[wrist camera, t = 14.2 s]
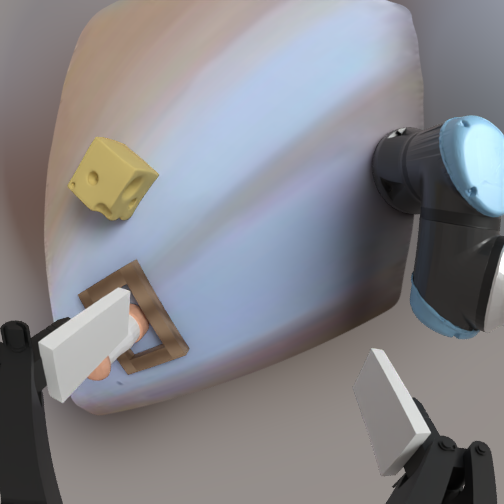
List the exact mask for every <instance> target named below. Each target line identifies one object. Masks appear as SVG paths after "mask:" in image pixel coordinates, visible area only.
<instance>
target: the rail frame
mask: <svg viewBox="0 0 504 504" xmlns="http://www.w3.org/2000/svg"><path fill="white" fill-rule="evenodd" d="M126 284H127V285H128V287H129V288H130V290H131V292H132V294H133V295H134V297H135V299H136V301H137V302H138V304H139V306H140V307H141V309H142V311H143V312H144V314H145V316H146V317H147V319H148V321H149V322H150V324H151V326H152V327H153V329H154V330H155V332H156V333H157V335H158V337H159V338H160V340H161V341H162V343H163V344H161V345H158V346H156V347H153V348H151V349H148V350H145V351H143V352H140V353H137V354H135V355H134V353H133V352H132V350H131V349H128V350H127V351H126V352H124V353H123V354H121V355H120V356H119V357H118V358H117V360H118V361H119V363H120V364H121V366H122V367H123V369H124V370H125V371H126V373H127V374H128V375H129V374H132V373H135V372H138V371H141V370H144V369H147V368H151V367H153V366H156V365H159V364H162V363H165V362H168V361H171V360H174V359H177V358H179V357H182V356H185V355H186V354H187V352H188V351H189V347H188V346H187V344H186V343H185V341H184V339H183V338H182V336H181V335H180V333H179V332H178V330H177V328H176V327H175V325H174V324H173V322H172V320H171V319H170V317H169V315H168V314H167V312H166V310H165V309H164V307H163V305H162V304H161V302H160V300H159V299H158V297H157V295H156V293H155V292H154V290H153V288H152V286H151V285H150V283H149V281H148V279H147V277H146V276H145V274H144V272H143V270H142V268H141V266H140V264H139V263H138V261H137V259H136V260H135V261H133V262H131V263H129V264H127V265H126V266H124V267H122V268H121V269H119V270H117V271H116V272H114V273H112V274H111V275H109V276H107V277H106V278H104V279H102V280H101V281H99V282H98V283H96V284H94V285H93V286H91V287H90V288H88V289H86V290H85V291H83V292H82V293H80V294H78V296H79V298H80V300H81V302H82V304H83V305H84V307H85V309H87V308H88V307H89V306H91V305H92V304H94V303H95V302H97V301H98V300H100V299H101V298H102V297H104V296H106V295H108V294H109V293H111V292H112V291H114V290H115V289H117V288H118V287H119V288H120V287H122V286H124V285H126Z"/></svg>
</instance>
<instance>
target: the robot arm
mask: <svg viewBox="0 0 504 504" xmlns="http://www.w3.org/2000/svg"><path fill="white" fill-rule="evenodd" d="M372 167H373V176H374V180H375V184H376V186H377V188H378V190H379V192H380V194H381V195H382V197H383V198H384V199H385V201H386V202H387V203H388V204H390V205H391V206H392V207H393V208H395V209H397V210H399V211H401V212H405V213H410V214H420V221H419V232H418V242H417V250H416V258H415V265H414V271H413V273H412V276H411V282H412V287H411V294H410V305H411V307H412V310H413V312H414V314H415V315H416V317H417V318H418V319H419V320H420V321H421V322H422V323H423V324H424V325H426V326H427V327H428V328H430V329H432V330H433V331H435V332H437V333H439V334H442V335H444V336H447V337H453V336H455V337H456V338H458V339H469V338H472V337H474V336H476V335H477V334H478V332H479V331H480V330H481V331H484V332H486V333H490V332H491V331H493V330H495V329H496V328H498V327H500V326H504V236H500V222H501V216H502V215H503V214H504V135H503V134H502V133H501V131H500V130H499V129H498V128H497V127H496V126H495V125H493V124H492V123H491V122H489V121H488V120H486V119H484V118H481V117H478V116H464V117H459V118H456V117H455V118H451V119H449V120H447V121H446V122H444V123H441V124H438V125H436V126H433V127H431V128H428V129H426V130H421V129H417V128H412V127H406V128H400V129H397V130H395V131H393V132H391V133H389V134H387V135H386V136H385V137H384V138H383V139H382V140H381V141H380V142H379V144H378V146H377V148H376V150H375V153H374V157H373V166H372ZM130 292H131V291H128V290H125V289H122V288H119V287H118V288H117V289H115V290H114V291H112V292H111V293H109V294H108V295H106V296H105V297H103V298H101V299H100V300H98V301H97V302H95V303H94V304H92V305H91V306H89V307H88V308H87V309H85V310H84V311H82V312H81V313H79V314H78V315H76V316H75V317H73V318H72V319H71V318H69V317H66V318H63V319H59V320H57V321H56V322H54V323H53V324H51V325H50V326H48V327H47V328H46V329H44V330H42V331H41V332H39V333H38V334H36V335H35V336H33V337H32V338H31V337H30V331H29V326H28V325H27V324H26V323H24V322H22V321H9V322H6V323H5V324H3V325H2V327H1V328H0V329H1V335H2V340H3V343H2V342H0V494H1V504H63V503H62V499H61V496H60V492H59V488H58V484H57V481H56V476H55V473H54V468H53V463H52V458H51V453H50V448H49V442H48V435H47V428H46V420H45V412H44V399H43V393H42V389H43V388H44V387H45V386H47V388H48V392H49V395H50V396H51V397H53V398H55V399H56V400H58V401H60V402H62V403H64V402H65V400H66V399H67V398H68V397H69V396H70V395H71V394H72V393H73V392H74V391H75V390H76V389H77V388H78V387H79V385H80V384H81V383H82V382H83V381H84V380H85V379H86V378H87V377H88V376H89V375H90V374H91V373H92V372H93V371H94V370H95V369H96V368H97V366H98V365H99V364H100V363H101V362H102V361H103V360H104V359H105V358H106V357H107V356H108V355H109V354H110V353H111V352H112V351H113V350H114V349H115V348H116V347H117V346H118V345H119V344H120V343H121V342H122V341H123V340H124V339H125V338H126V337H127V335H128V325H129V306H130ZM353 390H354V393H355V396H356V399H357V402H358V405H359V408H360V411H361V414H362V417H363V420H364V423H365V426H366V429H367V432H368V435H369V439H370V442H371V445H372V448H373V451H374V455H375V458H376V461H377V464H378V468H379V471H380V475H381V476H389V475H390V476H391V475H396V474H397V473H398V472H399V471H400V470H401V469H402V468H403V467H404V469H405V472H406V473H405V474H404V475H403V476H402V477H401V478H400V479H399V480H398V481H397V482H396V483H395V484H394V485H393V486H392V487H393V488H394V487H395V486H396V485H397V486H396V488H395V489H394V491H393V493H392V494H391V496H390V498H389V499H388V501H387V502H386V504H497V495H496V484H495V476H494V467H493V461H492V454H491V451H490V448H489V447H488V446H487V445H486V444H485V443H484V442H481V441H475V442H473V443H472V444H471V445H470V446H469V448H468V449H464V448H457V445H456V443H455V442H454V441H453V440H452V439H450V438H449V437H446V436H440V435H439V433H438V431H437V430H436V428H435V426H434V424H433V423H432V421H431V419H430V418H429V416H428V414H427V413H426V410H425V409H424V407H423V405H422V404H421V403H420V402H419V401H418V400H417V399H416V398H412V397H411V396H410V394H409V392H408V391H407V389H406V387H405V385H404V384H403V382H402V380H401V379H400V377H399V375H398V374H397V372H396V370H395V369H394V367H393V365H392V364H391V362H390V361H389V359H388V358H387V355H386V354H385V352H384V351H383V350H381V349H374V348H371V350H370V352H369V354H368V356H367V359H366V361H365V363H364V365H363V367H362V369H361V372H360V373H359V376H358V378H357V380H356V382H355V384H354V386H353ZM464 484H465V486H464V489H463V485H464Z"/></svg>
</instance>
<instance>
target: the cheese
mask: <svg viewBox="0 0 504 504" xmlns="http://www.w3.org/2000/svg"><path fill="white" fill-rule="evenodd" d="M158 176H159V174H158V173H157V172H156V171H155V170H154V169H153V168H152V167H150V166H149V165H148V164H147V163H146V162H145V161H144V160H143V159H141V158H140V157H139V156H138V155H136V154H135V153H134V152H133V151H131V150H130V149H129V148H128V147H127V146H126V145H125V144H122V143H120V142H118V141H115V140H111V139H108V138H104V137H96V138H95V139H94V141H93V142H92V144H91V145H90V147H89V149H88V150H87V152H86V154H85V156H84V158H83V159H82V161H81V163H80V165H79V167H78V168H77V170H76V172H75V174H74V175H73V177H72V179H71V180H70V182H69V184H68V188H69V189H70V190H71V191H72V192H73V193H74V194H75V195H76V196H77V197H78V198H79V199H80V200H81V201H82V202H83V203H84V204H85V205H86V206H87V207H88V208H89V209H90V210H92V211H98V212H101V213H102V214H103V215H105V216H106V218H107V219H109V220H111V221H114V220H117V219H118V218H120V219H121V220H127V219H129V218H130V217H131V216H132V214H133V213H134V211H135V209H136V207H137V205H138V204H139V202H140V201H141V199H142V198H143V196H144V195H145V194H146V192H147V191H148V189H149V188H150V187H151V185H152V184H153V183H154V181H155V180H156V179H157V177H158Z"/></svg>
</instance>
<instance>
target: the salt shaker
mask: <svg viewBox="0 0 504 504" xmlns="http://www.w3.org/2000/svg"><path fill="white" fill-rule="evenodd" d="M148 329H149V321H148V319H147V317H146V316H145V314H144V312H143V311H142V309H141V308H140V307H139V306H137V305H135V304H130V306H129V325H128V335H127V337H126V338H125V339H124V340H123V341H122V342H121V343H120V344H119V345H118V346H117V347H116V348H115V349H114V350H113V351H112V352H111V353H110V354H109V355H108V356H107V357H106V358H105V359H104V360H103V361H102V362H101V363H100V364H99V365H98V366H97V368H96V369H95V370H94V371H93V372H92V373H91V374H90V375H89V376H88V377H87V378H89V379H91V380H103V379H105V378H106V377H108V375H109V373H110V370H111V364H112V363H113V362H114V361H115V360H116V359H117V358H118V357H119V356H120V355H121V354H123V353H124V352H126V351H127V350H128V349H130V348H131V347H132V346H133V344H134V343H136V342H138V341H139V340H140V339H141V338H142V337H143V336H144V335H145V333H146V332H147V330H148Z"/></svg>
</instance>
